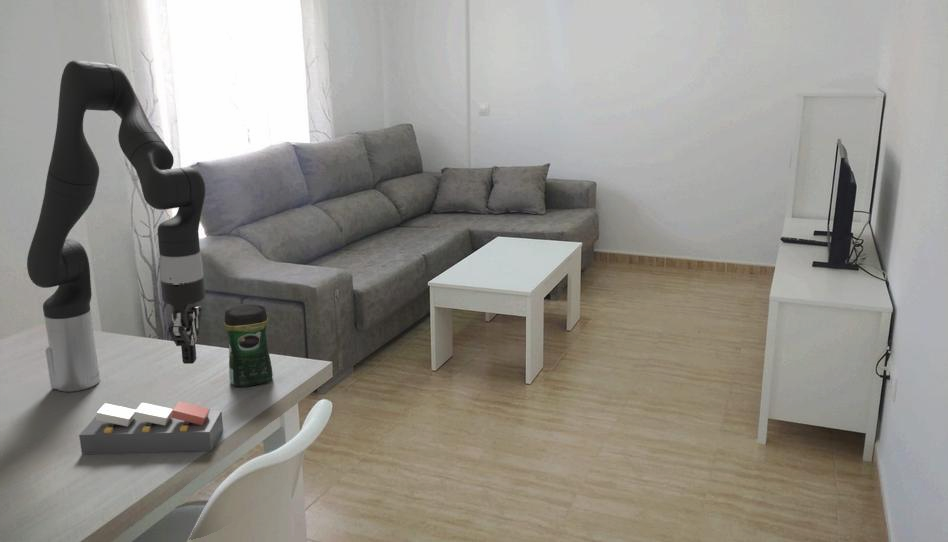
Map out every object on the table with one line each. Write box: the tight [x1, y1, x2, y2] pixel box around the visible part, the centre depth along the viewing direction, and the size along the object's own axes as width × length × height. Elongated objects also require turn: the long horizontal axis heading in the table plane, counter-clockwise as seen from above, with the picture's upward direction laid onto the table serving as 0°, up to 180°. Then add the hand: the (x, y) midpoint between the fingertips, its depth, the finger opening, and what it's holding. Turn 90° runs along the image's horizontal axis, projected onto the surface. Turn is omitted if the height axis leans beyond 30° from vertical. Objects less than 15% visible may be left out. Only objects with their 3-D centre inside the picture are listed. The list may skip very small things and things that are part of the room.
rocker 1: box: [95, 402, 136, 426], centre depth 150 cm, size 6×4×2 cm, turn 94°
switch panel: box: [78, 410, 224, 455], centre depth 151 cm, size 24×9×5 cm, turn 93°
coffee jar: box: [223, 301, 274, 388], centre depth 178 cm, size 10×8×19 cm
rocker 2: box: [133, 402, 174, 426], centre depth 150 cm, size 6×4×2 cm, turn 94°
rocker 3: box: [171, 400, 211, 425], centre depth 151 cm, size 6×4×2 cm, turn 94°
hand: (189, 362), depth 149 cm, fingers closed
